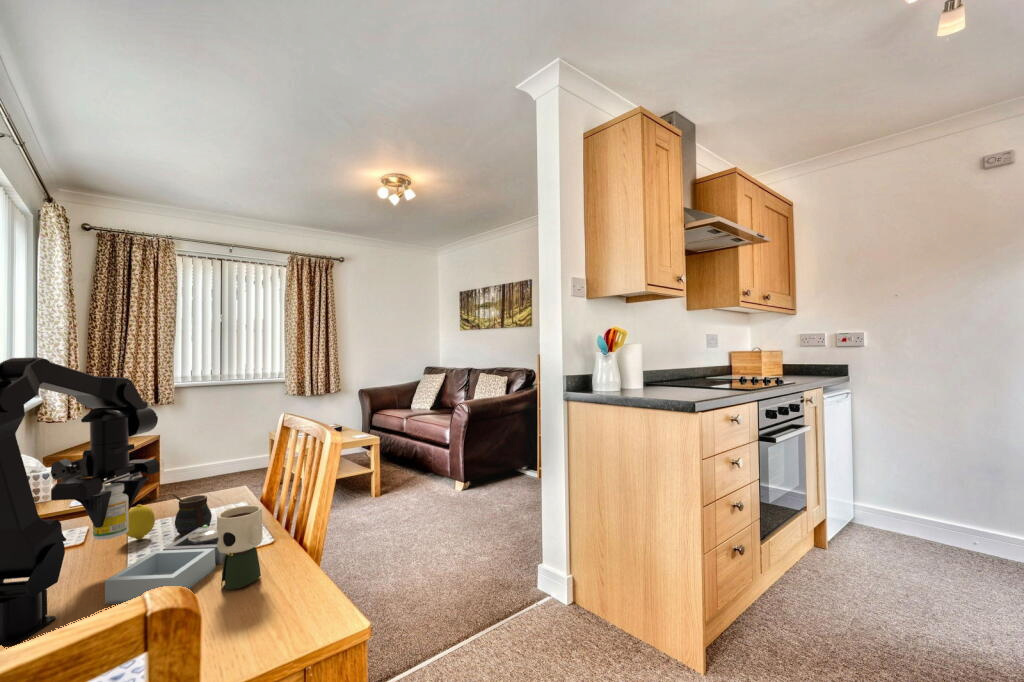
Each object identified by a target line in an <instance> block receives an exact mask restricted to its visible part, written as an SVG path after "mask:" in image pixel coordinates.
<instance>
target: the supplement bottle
mask: <svg viewBox="0 0 1024 682" xmlns="http://www.w3.org/2000/svg"><path fill="white" fill-rule="evenodd" d="M105 491H112V492H111V496H110V500H109V504H108V508H107V512H106V516H105V520H104V523H103V526H102V527H100V528H95V527H94V525H93V524H92V538H93V539H94V540H97V541H105V540H110V539H114V538H117V537H121V536H123V535H125V534H126V533H127V532H128V530H129V511H130V510H129V499H128V495H127V494H124V493H122V492H123V491H124V484H123V483H114V484H111V483H108V484H105Z"/></svg>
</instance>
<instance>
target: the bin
mask: <svg viewBox="0 0 1024 682" xmlns="http://www.w3.org/2000/svg"><path fill="white" fill-rule="evenodd" d="M215 570H216V565H215V548H210V549H186V550H163V549H161V550H154V551H152V552H151V553H149V554H147V555H146V556H143V557H142V558H141V559H138V560H137V561H136V562H134V563H131V564H130V565H129V566H126V567H125V568H124V569H121V570H119V571H118V572H117V573H116V574H113V575H112V576H110V577H108V578H106V579H105V580H104V604H105V605H120V603H123V602H126V601H128V600H131V599H133V598H136V597H138V596H141V595H142V594H143V593H144V592H146V591H149V590H151V589H155V588H158V587H163V586H182V587H186V588H188V589H189V590H191V589H192V588H193V587H195V586H196V585H197V584H198V583H199V582H201V581H202V580H203V579H204V578H206V577H208V575H210V574H211V573H212V572H213V571H215Z"/></svg>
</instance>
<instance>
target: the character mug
mask: <svg viewBox="0 0 1024 682" xmlns="http://www.w3.org/2000/svg"><path fill="white" fill-rule="evenodd" d="M216 526H217V531H218V537H219V538H218V543H217V548H218V550H219V552H220V553H226V554H225V556H224V562H223V563H222V571H221V584H220V585H221V586H220V587H221V588H222V587H223V582H224V589H225V590H236V589H240V588H243V587H245V586H247V585H249V584H251V583H253V582H254V581H256V580H258V579H259V578H261V576H262V574H261V566H260V561H259V555H258V550H257V548H256V547H258V546H260V544H262V543H263V542H262V541H263V537H264V536H263V533H264V532H263V507H262V506H261V505H258V504H257V505H256V504H252V505H251V504H250V505H240V506H239V505H238V506H235V507H231V508H227V509H224V510H223V511H221V512H219V513H218V514H217V515H216Z"/></svg>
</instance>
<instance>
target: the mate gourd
mask: <svg viewBox="0 0 1024 682" xmlns="http://www.w3.org/2000/svg"><path fill="white" fill-rule="evenodd" d="M172 497H174V498H175V499H177V500H178V508H179V509H178V511H177V513H176V514H175V520H174V527H175V529H176V533H178V534H179V535H180V536H182V537H184V536H186V535H187V534H189V533H191V532H192V531H194V530H196V529H197V528H200V527H202V526H204V525H207V526H208V527H210V526H211V522H212V517H213V516H212V514H213V513H212V511H211V509H210V508H209V506H208V496H207V495H203V494H202V495H201V494H198V495H191V496H188V497H184V498H180V497H178V496H177V495H175V494H172Z"/></svg>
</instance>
